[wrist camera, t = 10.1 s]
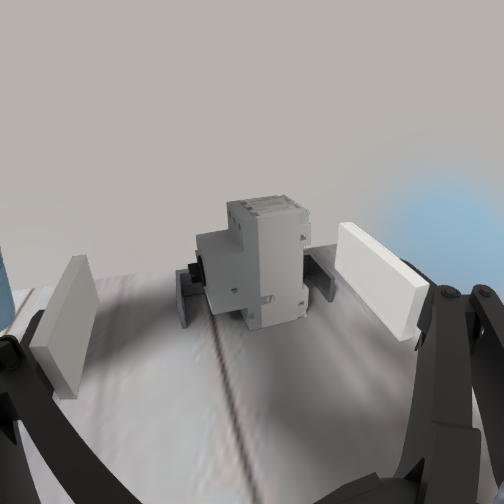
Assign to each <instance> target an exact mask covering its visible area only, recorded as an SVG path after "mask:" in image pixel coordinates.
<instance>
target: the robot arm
mask: <svg viewBox="0 0 504 504" xmlns="http://www.w3.org/2000/svg"><path fill="white" fill-rule="evenodd" d="M335 269H336V270H337V271H338V272H339V273H340V274H341V276H342V277H343V278H344V279H345V280H346V281H347V282H348V283H349V284H350V285H351V287H352V288H353V289H354V290H355V291H356V292H357V293H358V294H359V296H360V297H361V298H362V299H363V300H364V301H365V302H366V303H367V305H368V306H369V307H370V308H371V309H372V310H373V311H374V312H375V314H376V315H377V316H378V317H379V318H380V319H381V321H382V322H383V323H384V324H385V325H386V326H387V327H388V329H389V330H390V331H391V332H392V333H393V334H394V336H395V337H396V338H397V339H398V340H399V341H403V340H406V339H409V338H412V337H413V335H414V332H415V330H416V327H418V328H419V329H420V330H421V334H420V337H419V339H418V342H417V345H416V347H415V350H414V351H417V349H418V357H417V367H416V376H415V384H414V391H413V398H412V405H411V411H410V417H409V422H408V428H407V433H406V438H405V443H404V447H403V452H402V456H401V460H400V464H399V466H398V469H397V471H396V473H395V475H394V477H393V478H380V479H379V477H378V476H377V474H376V472H374V473H372V474H370V475H367V476H365V477H362V478H360V479H357V480H355V481H352V482H350V483H347V484H344V485H343V486H341V487H340V488H338V489H336V490H335V491H333V492H332V493H330V494H329V495H327V496H325V497H324V498H322V499H320V500H319V501H317V502H315V503H313V504H478V503H476V498H477V490H478V481H479V470H480V455H481V432H480V430H479V429H477V428H473V427H472V387H473V390H474V394H475V397H476V401H477V404H478V408H479V412H480V415H481V419H482V423H483V428H484V432H485V436H486V441H487V446H488V450H489V456H490V461H491V466H492V470H493V474H494V477H495V480H496V484H497V486H498V489H499V491H498V495H497V496H496V497H495V498H494V500H493V504H504V305H503V304H502V302H501V300H500V299H499V297H498V295H497V294H496V293H495V291H494V290H493V289H491V288H490V287H489V286H486V285H481V284H479V285H475V286H474V287H473V290H472V292H471V294H470V295H461V293H460V292H459V291H458V290H457V289H455V288H453V287H451V286H448V285H441V286H437V285H436V284H435V283H434V282H432V281H431V280H430V279H429V278H428V277H426V276H425V275H424V274H423V273H422V274H421V272H420V271H419V270H418V269H416V268H415V267H414V266H413V265H411V264H410V263H409V262H407V261H405V260H402V259H399V258H397V257H396V256H395V255H394V254H392V253H391V252H390V251H389V250H387V249H386V248H385V247H384V246H382V245H381V244H380V243H378V242H377V241H376V240H375V239H373V238H372V237H370V236H369V235H368V234H367V233H365V232H364V231H363V230H361V229H360V228H359V227H357V226H356V225H355V224H353V223H352V222H347V223H339V232H338V242H337V251H336V261H335ZM99 302H100V300H99V297H98V294H97V291H96V288H95V284H94V281H93V278H92V274H91V271H90V267H89V263H88V260H87V256H86V255H79V256H73V257H72V258H71V260H70V262H69V264H68V266H67V268H66V270H65V271H64V273H63V275H62V277H61V279H60V281H59V283H58V285H57V287H56V289H55V291H54V293H53V295H52V297H51V299H50V301H49V303H48V305H47V307H46V309H45V310H39V311H38V312H37V313H36V314H35V315H34V316H33V317H32V319H31V321H30V323H29V325H28V327H27V329H26V331H25V334H24V336H23V338H22V340H21V342H20V344H19V342H18V340H17V338H16V337H15V336H13V335H4V336H2V337H0V504H41V502H40V499H39V497H38V494H37V491H36V488H35V485H34V482H33V479H32V476H31V473H30V470H29V466H28V463H27V459H26V456H25V452H24V448H23V444H22V440H21V436H20V432H19V427H18V422H17V420H22V422H23V424H24V426H25V428H26V430H27V432H28V433H29V435H30V437H31V439H32V440H33V442H34V444H35V446H36V447H37V449H38V451H39V452H40V454H41V455H42V457H43V459H44V460H45V462H46V463H47V465H48V466H49V468H50V469H51V471H52V472H53V474H54V475H55V477H56V478H57V480H58V481H59V483H60V484H61V485H62V487H63V488H64V489H65V491H66V492H67V494H68V495H69V496H70V498H71V499H72V500H73V501H74V503H75V504H142V503H141V502H140V501H139V500H138V499H137V498H136V497H135V496H134V495H133V494H132V493H131V492H130V491H129V490H128V489H127V488H126V487H125V486H124V485H123V484H122V483H121V482H120V481H119V480H118V479H117V478H116V477H115V476H114V475H113V474H112V473H111V472H110V471H109V470H108V469H107V467H106V466H105V465H104V464H103V463H102V462H101V461H100V460H99V458H98V457H97V456H96V455H95V454H94V453H93V451H92V450H91V449H90V448H89V447H88V445H87V444H86V443H85V442H84V441H83V439H82V438H81V437H80V436H79V434H78V433H77V432H76V430H75V429H74V428H73V427H72V425H71V424H70V423H69V421H68V420H67V418H66V417H65V416H64V414H63V413H62V412H61V410H60V409H59V407H58V406H57V404H56V403H55V402H54V400H53V399H52V396H53V392H54V390H55V392H56V394H57V395H58V397H59V398H60V399H77V397H78V391H79V386H80V381H81V376H82V371H83V366H84V361H85V357H86V352H87V348H88V344H89V340H90V336H91V332H92V328H93V324H94V320H95V316H96V312H97V309H98V305H99ZM14 318H15V305H14V301H13V297H12V293H11V289H10V285H9V281H8V277H7V273H6V270H5V266H4V264H3V258H2V254H1V249H0V332H1V331H2V330H4V329H6V328H7V327H9V326H10V325H11V324H12V323H13V321H14ZM483 329H484V332H483V334H482V331H483Z"/></svg>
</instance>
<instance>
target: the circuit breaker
mask: <svg viewBox="0 0 504 504" xmlns="http://www.w3.org/2000/svg"><path fill="white" fill-rule="evenodd" d="M227 213H228V227H229V229H228V230H222V231H216V232H210V233H205V234H199V235H196V241H197V249H198V250H196V251H195V253H196V257H197V263H192V264H188V270H189V274H190V276H191V281H192V284H194V283H200V282H201V283H202V286H203V287H204V290H205V293H206V296H207V299H208V302H209V305H210V308H211V311H212V314H213V315H215V314H220V313H225V312H230V311H235V310H240V312H241V314H242V316H243V318H244V320H245V322H246V324H247V326H248V328H249V330H250V331H251V330H256V329H260V328H264V327H269V326H273V325H277V324H281V323H285V322H289V321H293V320H297V319H298V317H301V316H303V317H307V314H306V308H308V292H309V288H308V287H307V286H306V285H305V284H304V283H303V249H304V245H310V244H311V224H310V223H309V218H308V214H310V213H309V211H308V210H307V209H305V208H304V207H302V206H301V205H299V204H298V203H294V201H293V200H292V199H290V198H288V197H287V196H285V195H282V196H270V197H262V198H253V199H246V200H238V201H231V202H227ZM303 234H306V237H304V236H303ZM303 301H304V304H303ZM302 304H303V305H302Z"/></svg>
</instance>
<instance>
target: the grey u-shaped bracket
mask: <svg viewBox="0 0 504 504" xmlns="http://www.w3.org/2000/svg"><path fill="white" fill-rule="evenodd" d="M306 276H309V277H310V279H311V280H312V281H313V283H314V284H315V285H316V286H317V288H318V289H319V290H320V292H321V293H322V294H323V295H324V297H325V298H326V299H327V301H328V302H332V301H333V291H334V280H335V278H334V276H333V275H332V274H331V273H330V272H329V271H328V270H327V269H326V268H325V267H324V265H323V264H322V263H321V262H320V261H319V260H318V259H317V258H316V257H315V256H314V255H313V253H312V252H311V251H305V252H303V277H306ZM176 292H177V306H178V311H179V316H180V320H181V325H182V328H187V326H186V316H185V305H184V296H189V295H195V294H202V293H205V290H204V287H203V286H202V283H201V282H200V283H194V284H192V281H191V276H190V274H189V270H188V269H183V270H176Z"/></svg>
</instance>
